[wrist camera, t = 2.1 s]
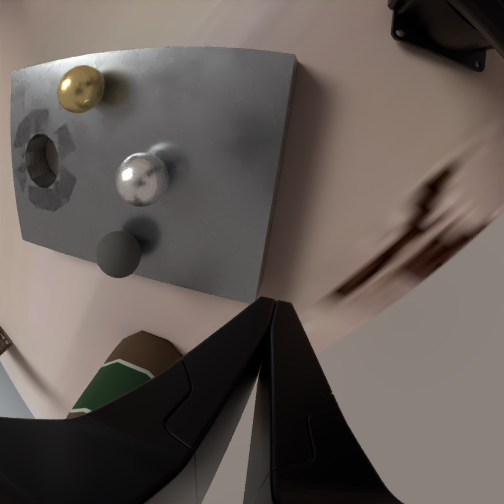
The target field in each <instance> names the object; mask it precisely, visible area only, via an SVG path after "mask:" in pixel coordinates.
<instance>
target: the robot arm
mask: <svg viewBox="0 0 504 504" xmlns="http://www.w3.org/2000/svg"><path fill="white" fill-rule="evenodd" d="M388 7H389V8H390V10H393V16H392V26H391V35H392V37H393V38H394V39H395V40H396V41H399V42H402V43H405V44H408V45H411V46H414V47H417V48H420V49H422V50H425V51H428V52H431V53H433V54H436V55H438V56H441V57H443V58H446V59H448V60H450V61H453V62H455V63H457V64H460V65H462V66H464V67H466V68H468V69H471V70H473V71H475V72H482V71H483V70H484V68H485V57H486V50H490V49H496V50H497V52H498V53H499V54H500V55H501V56H502V57H503V59H504V0H388ZM396 31H401V32H402V34H403V36H402V37H400V36H398V35H397V34H396ZM475 62H477V63H478V64H479V67H478V68H477V67H476V65H475ZM275 303H276V304H275ZM262 358H263V359H262ZM261 362H262V363H261ZM260 366H261V367H260ZM259 370H260V372H259ZM258 374H259V376H258ZM257 377H258V383H257V392H256V400H255V401H256V402H255V410H254V418H253V428H252V435H251V444H250V452H249V460H248V468H247V476H246V484H245V492H244V500H243V504H404V503H402V502H401V501H400V500H398V499H397V498H396V497H395V496H394V495H393V494H392V493H391V492H390V491H389V490H388V488H387V487H386V486H385V484H384V483H383V482H382V480H381V478H380V477H379V475H378V473H377V472H376V470H375V469H374V467H373V465H372V464H371V462H370V461H369V459H368V457H367V456H366V454H365V453H364V451H363V449H362V448H361V446H360V444H359V443H358V441H357V440H356V438H355V436H354V434H353V433H352V431H351V429H350V427H349V426H348V424H347V422H346V420H345V418H344V416H343V414H342V412H341V410H340V408H339V406H338V404H337V402H336V399H335V397H334V395H333V394H332V390H331V388H330V386H329V384H328V381H327V379H326V377H325V375H324V373H323V370H322V368H321V366H320V364H319V361H318V359H317V357H316V355H315V353H314V350H313V348H312V346H311V344H310V342H309V339H308V337H307V335H306V333H305V331H304V328H303V326H302V324H301V322H300V320H299V318H298V315H297V313H296V311H295V309H294V307H293V305H292V303H290V302H286V301H281V300H277V301H275V299H272V298H267V297H263V296H262V297H259V298H258V299H257V300H256V301H254V302H253V303H252V304H251V305H249V306H248V307H247V308H246V309H244V310H243V311H242V312H240V313H239V314H238V315H237V316H235V317H234V318H233V319H232V320H230V321H229V322H228V323H226V324H225V325H224V326H223V327H221V328H220V329H219V330H217V331H216V332H215V333H213V334H212V335H211V336H210V337H208V338H207V339H206V340H204V341H203V342H202V343H200V344H199V345H198V346H196V347H195V348H194V349H192V350H191V351H190V352H188V353H187V354H186V355H184V356H183V357H182V359H179V360H177V361H176V362H175V363H174V364H172V365H171V366H170V367H168V368H167V369H165V370H164V371H162V372H161V373H159V374H158V375H156V376H155V377H153V378H152V379H150V380H148V381H147V382H145V383H143V384H141V385H140V386H138V387H136V388H135V389H133V390H131V391H129V392H127V393H125V394H123V395H121V396H120V397H118V398H116V399H114V400H112V401H110V402H108V403H106V404H104V405H102V406H100V407H98V408H96V409H94V410H92V411H90V412H88V413H86V414H83V415H80V416H77V417H73V418H69V419H23V418H8V417H0V504H201V503H202V501H203V499H204V497H205V494H206V493H207V490H208V488H209V486H210V484H211V482H212V480H213V478H214V476H215V473H216V471H217V469H218V467H219V465H220V463H221V460H222V458H223V456H224V454H225V452H226V450H227V447H228V445H229V443H230V441H231V439H232V436H233V434H234V432H235V429H236V427H237V425H238V423H239V420H240V418H241V416H242V413H243V411H244V409H245V406H246V404H247V402H248V399H249V397H250V395H251V392H252V390H253V387H254V385H255V382H256V380H257Z"/></svg>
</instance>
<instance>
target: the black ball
mask: <svg viewBox="0 0 504 504" xmlns="http://www.w3.org/2000/svg"><path fill="white" fill-rule="evenodd" d="M96 258H97V262H98V265H99V267H100V268H101V270H102V271H103V272H104V273H106V274H107V275H109V276H111V277H114V278H123V277H126V276H129V275H130V274H132V273H133V272H134V271H135V270H136V269H137V267H138V266H139V263H140V260H141V249H140V245H139V243H138V241H137V240H136V239H135V238H134V237H133V236H132V235H131V234H129V233H127V232H124V231H113V232H110V233H108V234H107V235H105V236H104V237H103V238H102V239H101V241H100V242H99V244H98V246H97V250H96Z"/></svg>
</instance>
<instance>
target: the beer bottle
mask: <svg viewBox="0 0 504 504" xmlns="http://www.w3.org/2000/svg"><path fill="white" fill-rule="evenodd" d="M179 359H182V356H181V355H180V354H179V352H178V351H177V350H176V349H175V348H174V347H173V346H172V345H171V344H170V343H169V342H168V340H166V339H163V338H160V337H158V336H155V335H152V334H149V333H147V332H144V331H140V332H138V333H136V334H133V335H131V336H129V337H126V338H124V339H123V340H122V341H121V342H120V343H119V345H118V346H117V347H116V348H115V349H114V351H113V352H112V353H111V355H110V356H109V357H108V359H107V360H106V362H105V363H104V364H103V366H102V367H101V368H100V370H99V371H98V373H97V374H96V375H95V377H94V378H93V380H92V381H91V382H90V384H89V385H88V387H87V388H86V389H85V391H84V392H83V394H82V395H81V397H80V398H79V399H78V401H77V402H76V404H75V405H74V407H73V408H72V410H71V411H70V413H69V414H68V416H67V418H66V419H69V418H73V417H77V416H80V415H83V414H86V413H88V412H90V411H92V410H94V409H96V408H98V407H100V406H102V405H104V404H106V403H108V402H110V401H112V400H114V399H116V398H118V397H120V396H121V395H123V394H125V393H127V392H129V391H131V390H133V389H135V388H136V387H138V386H140V385H141V384H143V383H145V382H147V381H148V380H150V379H152V378H153V377H155V376H156V375H158V374H159V373H161V372H162V371H164V370H165V369H167V368H168V367H170V366H171V365H172V364H174V363H175V362H176V361H177V360H179Z"/></svg>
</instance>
